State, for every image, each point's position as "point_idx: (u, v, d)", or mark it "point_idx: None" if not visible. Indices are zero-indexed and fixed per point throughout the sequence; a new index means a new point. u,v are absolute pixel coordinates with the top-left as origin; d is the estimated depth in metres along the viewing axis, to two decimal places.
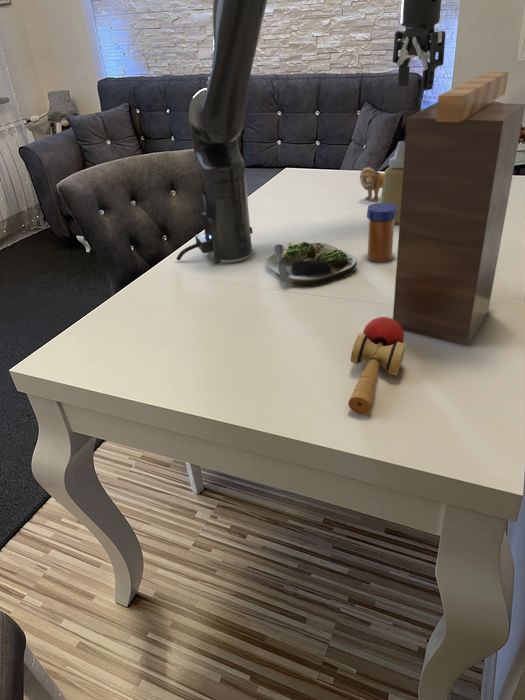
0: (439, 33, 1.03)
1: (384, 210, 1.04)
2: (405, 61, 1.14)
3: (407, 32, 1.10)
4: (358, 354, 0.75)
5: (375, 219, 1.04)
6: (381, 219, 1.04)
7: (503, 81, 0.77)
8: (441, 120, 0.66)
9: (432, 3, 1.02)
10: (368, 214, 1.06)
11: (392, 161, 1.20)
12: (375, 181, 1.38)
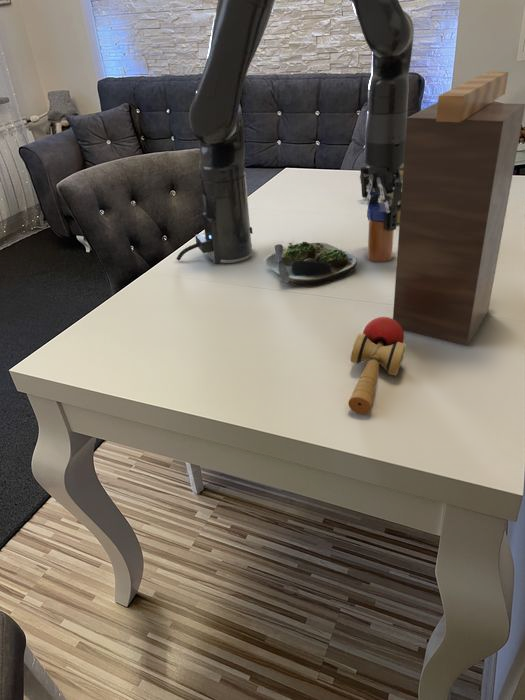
0: None
1: (384, 210, 1.04)
2: (374, 197, 1.07)
3: (372, 168, 1.03)
4: (358, 354, 0.75)
5: (375, 219, 1.04)
6: (381, 219, 1.04)
7: (503, 81, 0.77)
8: (441, 120, 0.66)
9: (396, 147, 0.96)
10: (368, 214, 1.06)
11: None
12: None
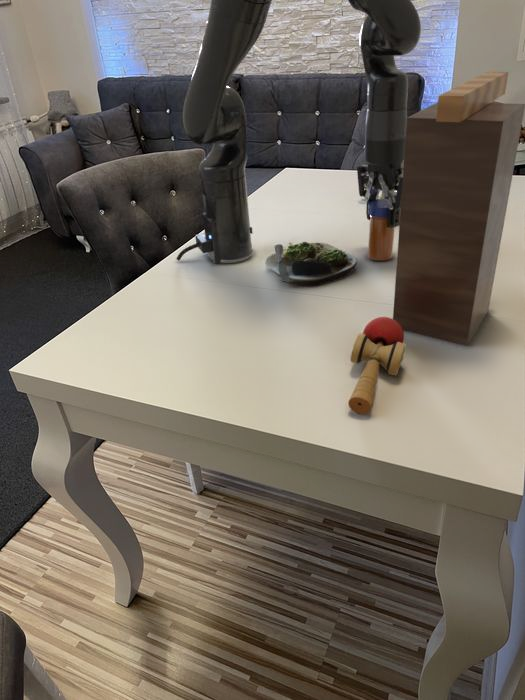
0: None
1: (379, 200, 1.07)
2: None
3: None
4: (358, 354, 0.75)
5: None
6: None
7: (503, 81, 0.77)
8: (441, 120, 0.66)
9: None
10: None
11: None
12: None
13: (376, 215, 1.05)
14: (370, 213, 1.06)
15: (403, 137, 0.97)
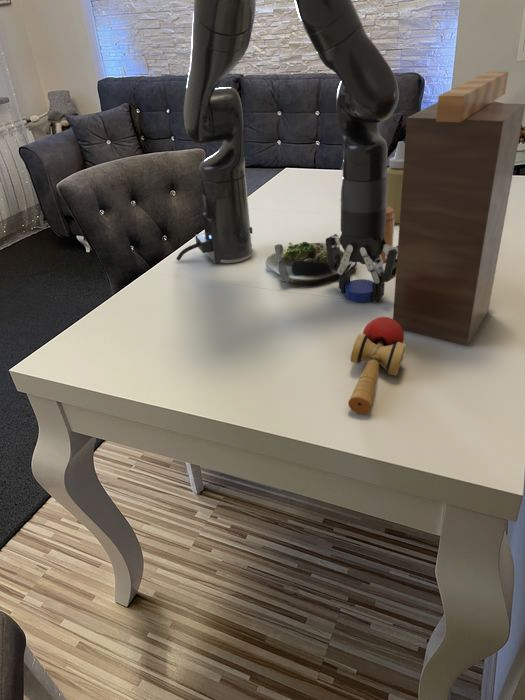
0: None
1: (353, 282, 0.98)
2: None
3: None
4: (358, 354, 0.75)
5: None
6: None
7: (503, 81, 0.77)
8: (441, 120, 0.66)
9: None
10: None
11: (392, 161, 1.20)
12: None
13: (359, 301, 0.95)
14: (351, 299, 0.96)
15: (386, 206, 0.88)
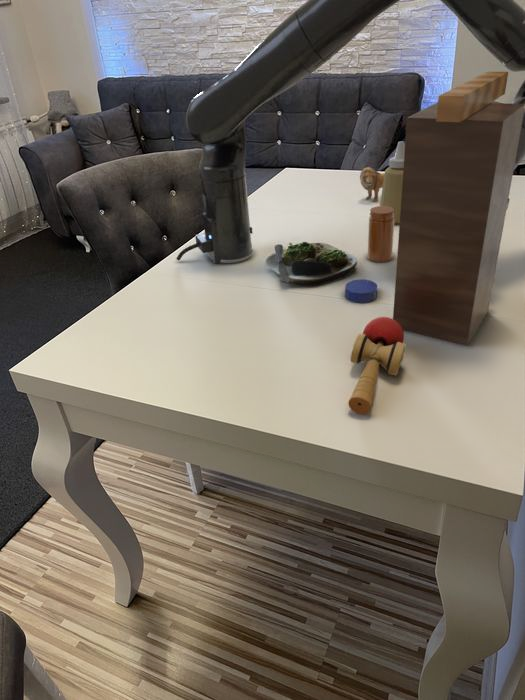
0: None
1: (353, 282, 0.98)
2: None
3: None
4: (358, 354, 0.75)
5: None
6: None
7: (503, 81, 0.77)
8: (441, 120, 0.66)
9: None
10: None
11: (392, 161, 1.20)
12: (375, 181, 1.38)
13: (359, 301, 0.95)
14: (351, 299, 0.96)
15: None
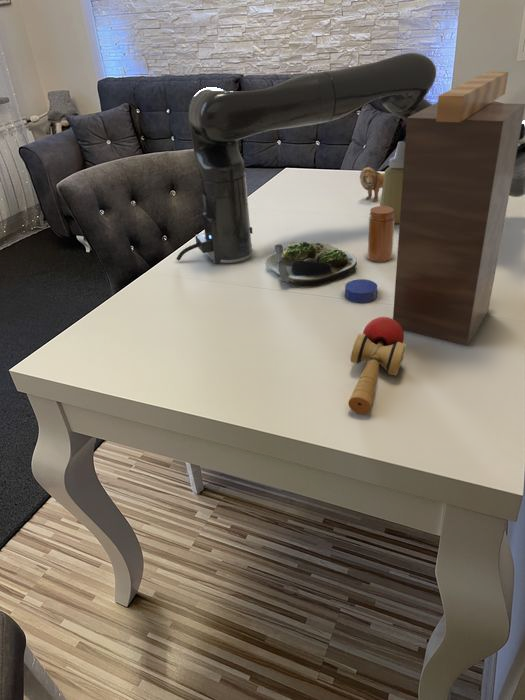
0: None
1: (353, 282, 0.98)
2: None
3: (522, 144, 0.95)
4: (358, 354, 0.75)
5: None
6: None
7: (503, 81, 0.77)
8: (441, 120, 0.66)
9: None
10: None
11: (392, 161, 1.20)
12: (375, 181, 1.38)
13: (359, 301, 0.95)
14: (351, 299, 0.96)
15: None
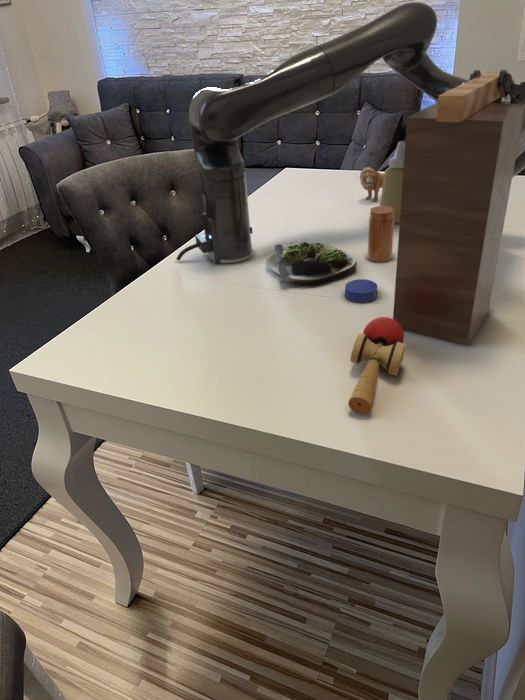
0: None
1: (353, 282, 0.98)
2: None
3: None
4: (358, 354, 0.75)
5: None
6: None
7: None
8: (441, 120, 0.66)
9: None
10: None
11: (392, 161, 1.20)
12: (375, 181, 1.38)
13: (359, 301, 0.95)
14: (351, 299, 0.96)
15: (524, 129, 0.88)
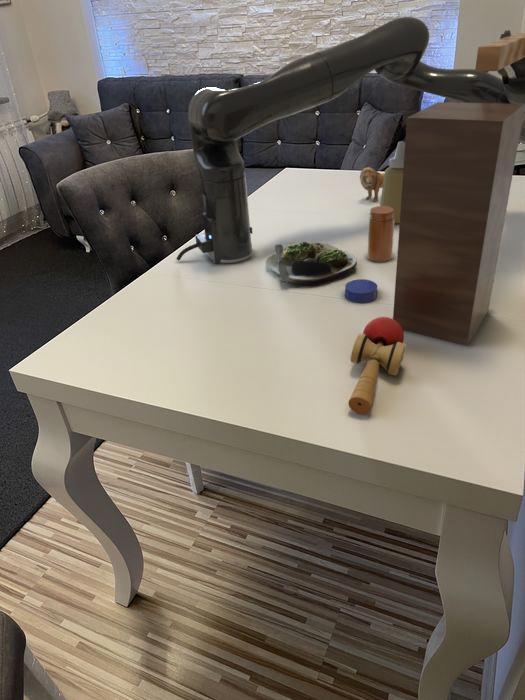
0: None
1: (353, 282, 0.98)
2: None
3: None
4: (358, 354, 0.75)
5: None
6: None
7: None
8: (480, 69, 0.74)
9: None
10: None
11: (392, 161, 1.20)
12: (375, 181, 1.38)
13: (359, 301, 0.95)
14: (351, 299, 0.96)
15: None
